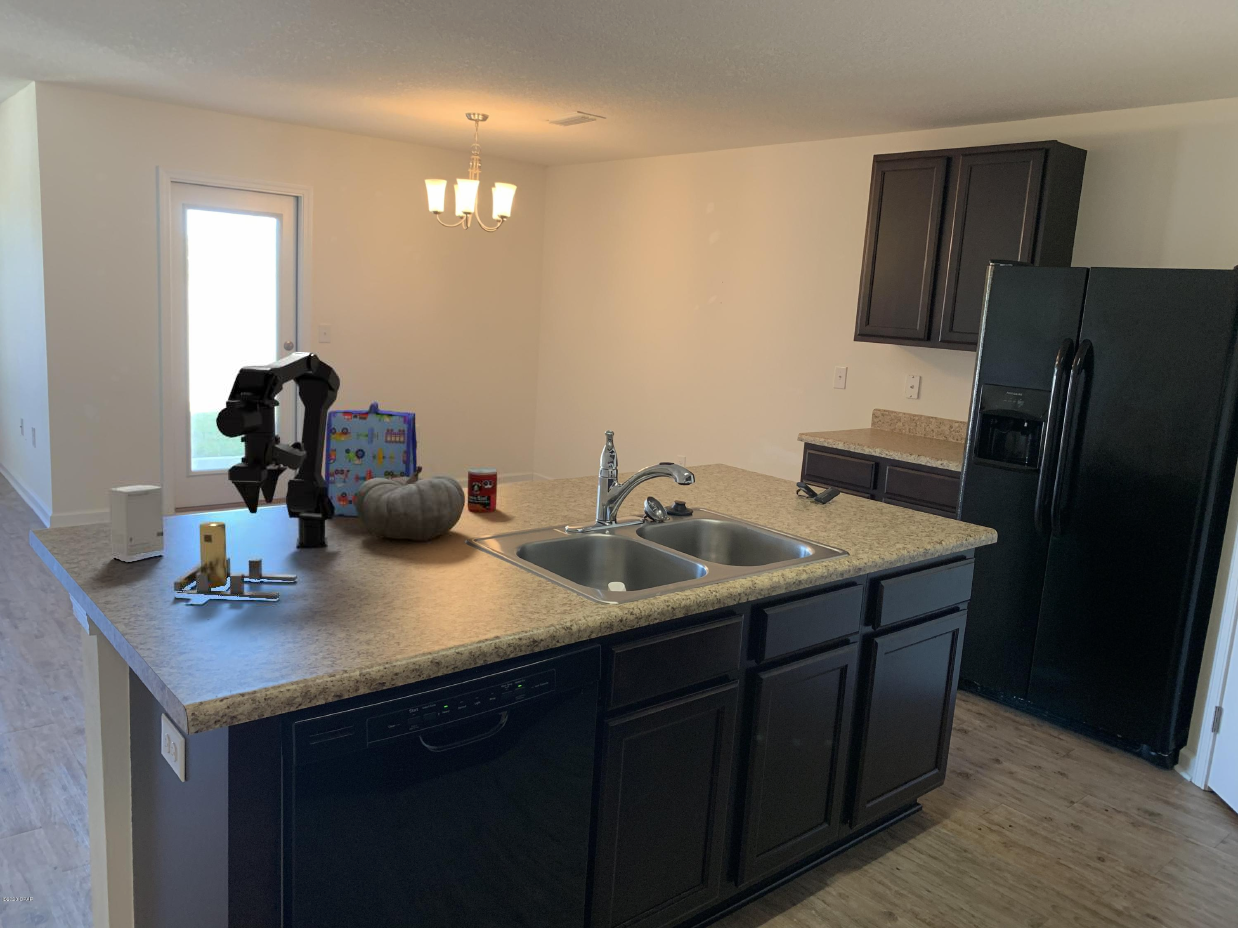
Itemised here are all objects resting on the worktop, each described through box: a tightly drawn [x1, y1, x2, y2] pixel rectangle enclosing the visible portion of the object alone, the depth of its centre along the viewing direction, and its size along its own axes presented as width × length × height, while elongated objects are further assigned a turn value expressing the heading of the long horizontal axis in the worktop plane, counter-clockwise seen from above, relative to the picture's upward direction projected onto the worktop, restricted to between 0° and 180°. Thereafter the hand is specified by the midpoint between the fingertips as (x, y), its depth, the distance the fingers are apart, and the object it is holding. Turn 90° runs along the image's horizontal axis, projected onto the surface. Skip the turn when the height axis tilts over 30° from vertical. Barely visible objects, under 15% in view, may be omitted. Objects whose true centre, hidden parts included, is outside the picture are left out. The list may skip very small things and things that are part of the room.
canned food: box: [467, 466, 498, 513], centre depth 242 cm, size 8×8×11 cm
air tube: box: [198, 521, 227, 588], centre depth 167 cm, size 5×5×12 cm
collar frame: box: [173, 557, 298, 599], centre depth 167 cm, size 16×18×4 cm
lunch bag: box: [324, 401, 418, 517], centre depth 231 cm, size 22×14×29 cm, turn 92°
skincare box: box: [108, 484, 165, 556], centre depth 184 cm, size 8×6×15 cm
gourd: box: [355, 465, 466, 542], centre depth 211 cm, size 25×25×17 cm
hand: (261, 507), depth 179 cm, fingers open, 9 cm apart
